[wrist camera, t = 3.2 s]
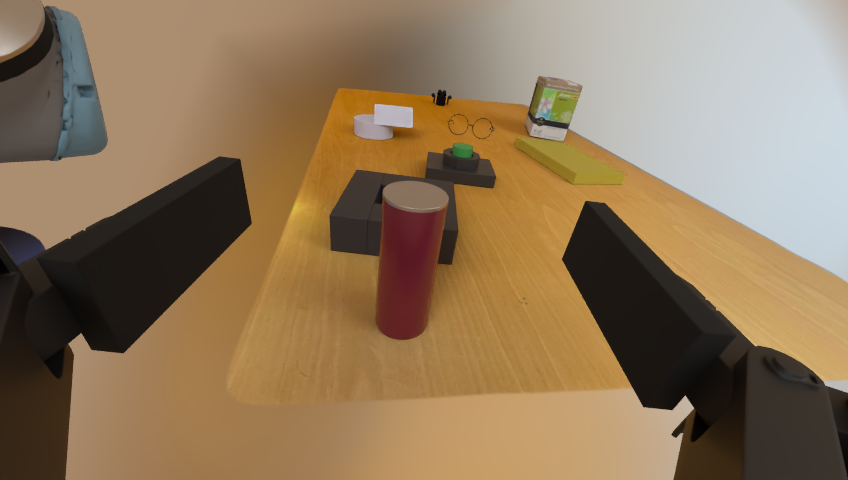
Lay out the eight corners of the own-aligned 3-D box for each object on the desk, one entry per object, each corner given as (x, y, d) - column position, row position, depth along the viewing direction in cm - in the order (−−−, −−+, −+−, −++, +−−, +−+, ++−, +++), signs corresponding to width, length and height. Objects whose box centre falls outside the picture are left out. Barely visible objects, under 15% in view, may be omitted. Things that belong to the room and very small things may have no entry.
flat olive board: (621, 184, 69) (554, 147, 88) (626, 174, 67) (557, 139, 87) (572, 184, 65) (514, 145, 84) (576, 173, 64) (516, 137, 83)
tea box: (564, 142, 94) (584, 85, 86) (528, 136, 94) (544, 79, 87) (555, 130, 106) (571, 79, 99) (523, 125, 107) (537, 74, 99)
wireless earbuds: (430, 104, 119) (432, 89, 116) (430, 103, 121) (432, 88, 118) (450, 107, 119) (452, 91, 116) (449, 105, 121) (452, 90, 118)
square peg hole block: (330, 250, 37) (329, 214, 35) (356, 198, 49) (356, 169, 46) (451, 264, 38) (458, 230, 35) (448, 210, 49) (453, 181, 47)
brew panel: (425, 179, 58) (428, 157, 56) (426, 162, 66) (429, 142, 64) (493, 188, 59) (498, 166, 56) (486, 170, 66) (491, 150, 64)
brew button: (452, 157, 59) (453, 147, 58) (451, 151, 62) (452, 141, 61) (472, 160, 59) (474, 150, 58) (470, 153, 62) (472, 144, 61)
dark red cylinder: (371, 336, 28) (378, 204, 21) (379, 299, 32) (387, 177, 25) (426, 342, 28) (449, 212, 21) (427, 304, 32) (447, 185, 25)
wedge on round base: (408, 132, 83) (355, 127, 81) (411, 103, 80) (355, 97, 78) (411, 142, 76) (352, 137, 74) (414, 112, 72) (353, 105, 70)
